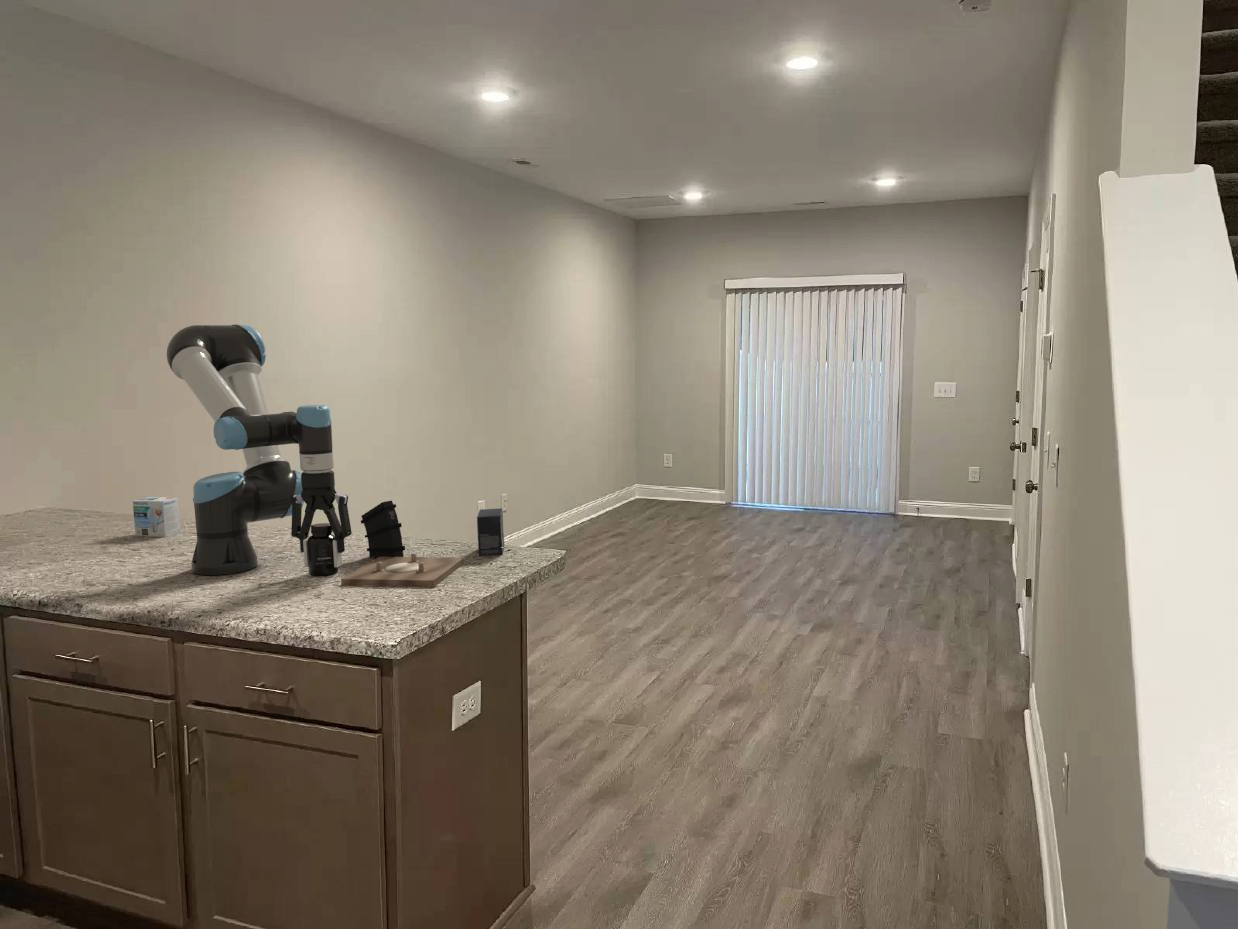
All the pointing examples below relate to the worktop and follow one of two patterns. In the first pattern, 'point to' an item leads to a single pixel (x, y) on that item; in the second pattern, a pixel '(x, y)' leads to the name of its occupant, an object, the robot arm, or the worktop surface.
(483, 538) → the small box
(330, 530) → the supplement bottle
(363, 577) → the board
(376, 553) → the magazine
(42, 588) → the worktop surface
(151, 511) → the light bulb box
